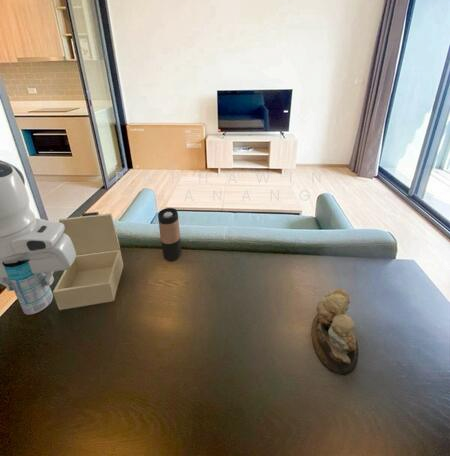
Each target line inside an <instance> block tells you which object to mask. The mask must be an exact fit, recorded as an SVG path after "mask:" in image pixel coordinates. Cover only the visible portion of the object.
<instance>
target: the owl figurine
mask: <svg viewBox="0 0 450 456" xmlns="http://www.w3.org/2000/svg"><path fill="white" fill-rule="evenodd" d="M350 304H351V300H350V297H349V294H348V293H347V292H346V291H345V290H344V289H340V288H339V289H338V288H337V289H334V290H332V289H331V290H328V291H327V293H326V294H325V295H324V297H321V298H320V299H319V300H318V302H317V305H316V307H315V311H316V312H317V313H316V315H315V316H314V318H313V321H312V325H311V339H312V345H313V348H314V351H315V353H316V355H317V357H318V359H319V361H320V362H321V363H322V365H323V366H324V367H325V368H327V369H328V370H329V371H330V372H332V373H335V374H337V375H338V374H339V375H343V376H345V375H350V374H351V373H352V372H353V371H354V370H355V369H356V367H357V364H358V360H359V346H358V341H357V337H356V334H355V332H354V330H355V323H354V321H353V318H352V317H350V316H348V315H347V314H346V312H347V311H348V310H349V309H350Z"/></svg>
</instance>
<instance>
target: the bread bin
mask: <svg viewBox="0 0 450 456" xmlns="http://www.w3.org/2000/svg"><path fill="white" fill-rule="evenodd" d="M123 268H124V261H123V257H122V251H121V249H118V250H111V251H103V252H95V253H88V254H80V255H76V258H75V261H74V262H73V264H72V266H71V267H70V268H69V269H68V270H63V273H62V275H61V276H60V278H59V280H58V282H57V283H56V285H55V287H54V289H53V291H52V294H53V298H54V300H55V303H56V306H57V308H58V310H59V311H62V310H68V309H69V310H70V309H75V308H80V307H81V308H82V307H87V306H93V305H100V304H104V303H106V304H107V303H112V302H115V299H116V295H117V292H118V287H119V284H120V280H121V276H122V272H123V270H124V269H123Z"/></svg>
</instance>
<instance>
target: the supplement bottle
mask: <svg viewBox="0 0 450 456" xmlns="http://www.w3.org/2000/svg"><path fill="white" fill-rule="evenodd" d="M28 261H29V259H28V260H23V261H17V262H16V263H8V264H4V262H2V263H3V266H4V268H5V270H6V273H7V275H8V278H9V280H10V282H11V285H12V287H13V289H14V290H13V292H14V294H15V296H16V299H17V301H18V303H19V306H20V308H21V310H22V311H21V312H23V314H24V315H26V316H36V315H38V314H41V313H43V312H44V311H46V310H47V309H48V308H49V307H50V306H51V304H52V303H53V300H54V294H53V291H52V289H51V285H49V286H43V284H42V280H43V279H44V277H45V274H44V273H39V274H33V273H32V271H31V268H30V265H29V263H28Z"/></svg>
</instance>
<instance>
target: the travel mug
mask: <svg viewBox="0 0 450 456" xmlns="http://www.w3.org/2000/svg"><path fill="white" fill-rule="evenodd" d="M157 221H158V228H159V236H160V245H161V250H162V254H163V259H164V260H166V261H168V262H174V261H176V260H178V259H180V257H181V255H182V245H181V244H182V243H181V230H180V221H179V213H178V210H177V209H176V208H174V207H166V208H163V209H161V210H159V211H158V213H157Z"/></svg>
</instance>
